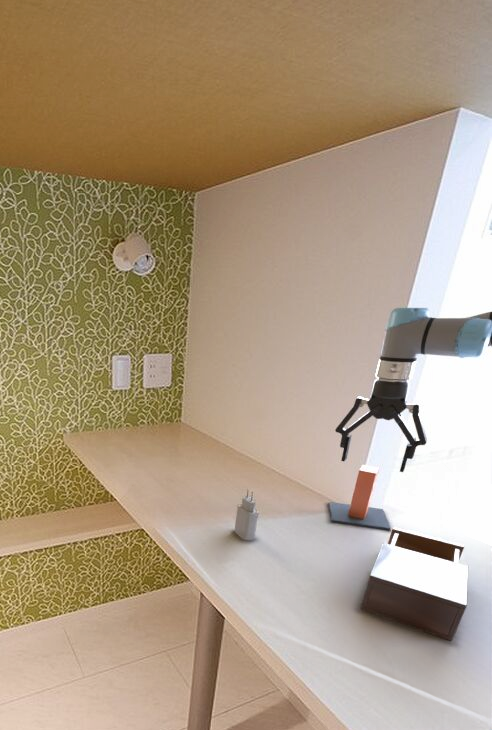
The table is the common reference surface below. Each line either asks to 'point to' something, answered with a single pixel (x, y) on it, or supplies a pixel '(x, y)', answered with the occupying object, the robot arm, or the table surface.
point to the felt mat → (372, 519)
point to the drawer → (426, 544)
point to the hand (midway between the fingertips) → (372, 465)
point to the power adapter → (246, 518)
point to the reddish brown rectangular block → (363, 491)
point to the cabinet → (417, 590)
